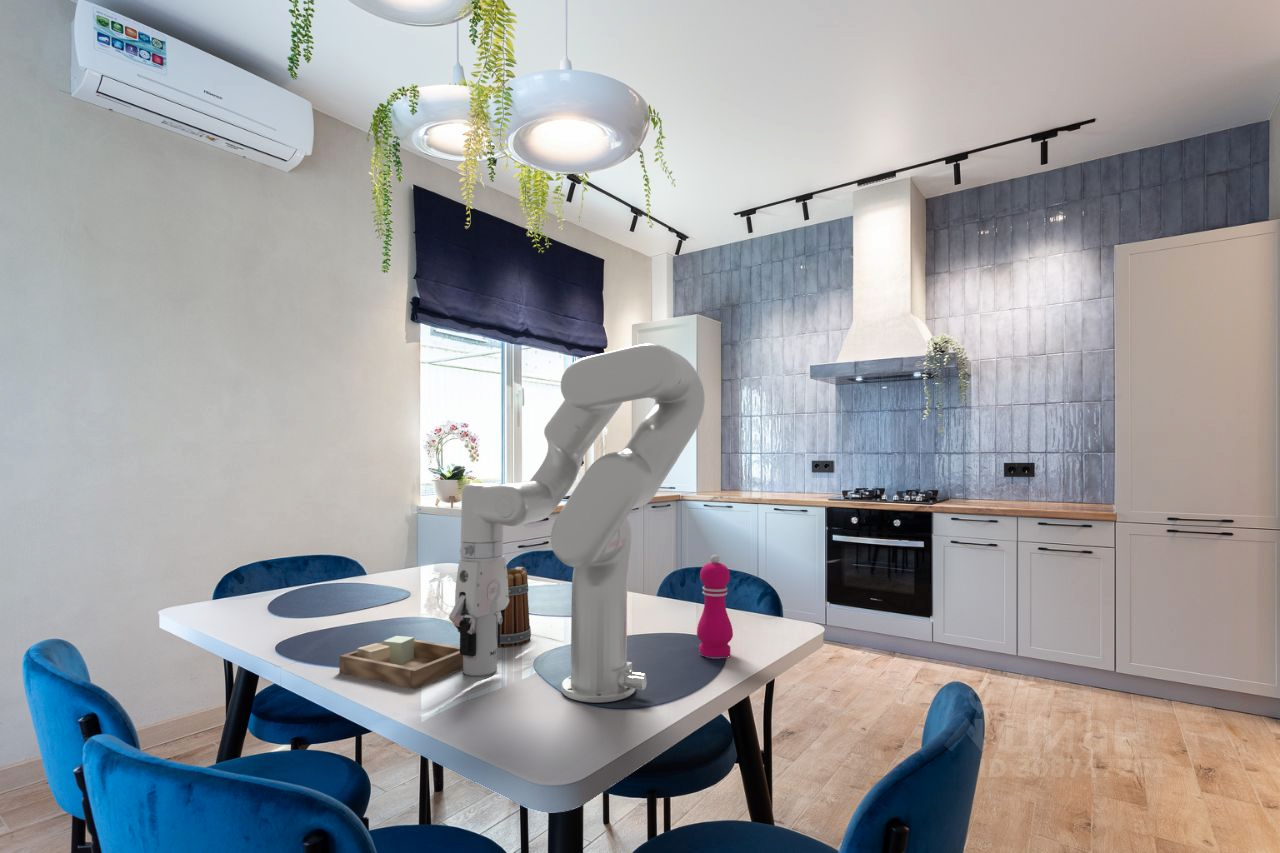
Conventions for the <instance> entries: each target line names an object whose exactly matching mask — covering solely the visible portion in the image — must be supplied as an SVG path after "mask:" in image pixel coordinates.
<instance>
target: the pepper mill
mask: <svg viewBox="0 0 1280 853" xmlns="http://www.w3.org/2000/svg"><path fill="white" fill-rule="evenodd" d="M710 561H711V562H708V563H706V564H705V565H703V566H702V568H701V569H700V574H699V579H700V582H701V583H702V584H703V586H702V592H701V593H702V594H703V596H704V605H703V606H704V607H703V611H702V613H701V615H700V619H699V620H698V624H697V627H696V628H697V629H696V636H697V638H698V640H699V641H700V642H701V643H700V644H699V647H698V651H699V652H700V654H702V655H704V656H708V657H728V656H729V657H731V646H730V645H729V643H730V642H731V640H733V636H734V632H733V629H734V628H733V626H732V623H731V620H730V617H729V615H728V612H727V607H726V596H727V595H728V587H727V585H728V583H729V582H730V578H731V575H730V574H731V573H730V570H729V568H728V567H727V566H726V565H725V564H723V563H722V562H720V556H718V554H713V555H711V556H710ZM699 652H698V653H699ZM700 654H699V655H700ZM729 657H728V658H729Z"/></svg>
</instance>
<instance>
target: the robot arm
mask: <svg viewBox="0 0 1280 853" xmlns="http://www.w3.org/2000/svg"><path fill="white" fill-rule="evenodd" d="M560 391H561V394H562V397H563V399H564V400H563V401H562V403H561V404H560V406H559V407H558V409H557V410H556V411H555V413H554V414H553V416H552V417H551V418H550V419H549V421H548V422H547V423H546V425H545V427H544V431H543V432H544V433H543V434H544V437H545V439H546V442H547V452H546V456H545V458H544V460H543V462H542V463H541V464H540V466H539V468H538V469H537V471H536V472H535V473H534V474H533V476H532V477H531V479H529V481H521V482H520V481H519V482H513V483H504V484H499V483H495V482H472V483H467V484H466V485H464V486H463V488H462V490H461V510H460V511H461V515H460V516H461V519H460V523H461V524H460V525H461V526H460V550H459V553H460V560H459V563H458V566H457V567H458V568H457V574H456V582H455V593H454V594H455V596H454V607H453V608H452V610H451V612H449V613H450V614H449V616H448V619H449V620H450V621H451V623H452V624H453V625H454V626H455V628H456V629H457V632H458V633H459V647H460V654H461V655H465V656H471V657H473V656H475V655H476V633H473V632H474V629H475V625H476V621H477V618H481V617H484V616H486V615H488V614H489V611H490V603H491V601H497V611H498V634H497V646H499V645H500V624H501V623H502V620H503V619H502V616H503V614H504V613H505V609H506V607H507V606H508V603H509V598H508V575H507V569H508V568H507V566H508V565H507V561H506V556H505V555H503V553H504V526H508V527H517V526H520V525H521V526H522V525H527V524H529V523H535V522H540V521H543V520H544V519H546V518H547V517H549V516H550V515H551V514H552V513H553V512H554V511H555V510H556V508H557V507H558V506H559V505H560V503H561V502H562V500H564V498H565V496H566V495H567V494H568V492H570V489H572V487H573V485H574V483H575V482H576V480H577V477H578V474H579V472H580V470H581V467H582V464H583V460H584V457H585V455H586V454H587V452H588V450H590V448H591V446H592V445H593V444H594V443H595V441H596V439H597V438H598V437H599V435H600V434H601V433H602V431H604V429H605V427H606V426H607V424H608V423H609V422H610V421H611V420H612V418H613V417H614V415H615V414H616V412H618V410H619V409H620V408H621V405H622V404H623V403H625V402H631V401H637V400H642V399H648V398H649V399H653V400H654V405H653V407H652V409H651V410H650V412H648V414H647V415H646V416H645V417H644V418H643V420H642V421H641V422H640V424H639V425H638V426H637V428H636V430H635V432H634V433H633V435H632V436H631V438H630V439H629V441H628V442H627V444H625V446H624V447H623V448H622V450H621V451H615V452H614V451H613V452H608V453H606V454H604V455H601V456H600V457H599V458H597V459H596V460H595V461H594V462H592V464H591V465H590V466H589V467H588V469H587V470H586V471H585V473H584V474H583V476H582V477H581V479H580V480H579V482H578V483H577V485H576V487H575V488H574V490H573V491H572V493H571V495H570V496H569V498H568V499H567V501H566V502H565V504H564V505H563V507H562V509H561V510H560V512H559V513H558V514H557V517H556V518H555V520H554V523H553V524H552V528H551V531H550V543H551V549H552V552H553V554H554V555H555V556H556V558H557V559H558V561H560V562H561V563H562V564H564V565H566V566H568V567H570V568H571V567H572V568H573V571H572V580H571V614H570V615H571V623H570V624H571V626H570V627H571V628H570V629H571V631H570V632H571V633H570V634H571V636H570V639H571V640H570V642H571V643H570V675H569V676H568V677H566V678H565V679H564V680H563V681H562V682H561V687H560V688H561V693H562V694H563V695H564V696H566V698H569V699H572V700H574V701H578V702H583V703H597V704H598V703H599V704H600V703H610V702H616V701H621V700H623V699H626V698H629V697H630V696H631V695H632V694H634V693H635V691H636V689H638V690H641V691H644V690H646V688H647V685H648V684H647V683H648V682H647V681H648V680H647V675H646V674H647V673H642V672H635V671H634V670H633V662H632V661H627V659H628V658H627V656H628V654H627V653H628V652H627V650H628V649H627V647H628V646H627V645H628V644H627V643H628V641H627V640H628V635H627V634H628V632H627V631H628V621H627V620H628V575H629V574H628V573H629V562H630V557H631V556H630V555H631V547H632V546H631V545H632V528H631V524H630V521H629V518H628V516H629V514H630V513H631V511H632V510H634V509H638V508H641V507H643V506H646V505H647V504H648V503H650V502H651V501H652V500H653V498H654V497H655V496H656V495H657V492H658V491H659V489H660V487H661V486H662V484H663V483H664V481H665V479H667V476H668V475H669V474H670V472H671V470H672V469H673V467H674V466H675V464H676V463H677V461H678V459H679V457H680V456H681V454H682V453H683V451H684V449H685V448H686V447H687V445H688V443H689V442H690V440H691V438H693V435H694V434H695V432H696V430H697V429H698V427H699V425H700V423H701V420H702V416H703V415H704V409H705V391H704V385H703V382H702V380H701V378H700V376H699V374H698V372H697V370H696V369H695V368H694V366H693V365H692V364H691V362H689V360H687V359H686V358H685V357H684V356H682V355H681V354H679V353H678V352H676V351H673V350H671V349H670V348H668V347H666V346H664V345H660V344H657V343H656V344H655V343H643V344H638V345H634V346H627V347H624V348H620V349H617V350H611V351H607V352H603V353H598V354H593V355H589V356H586V357H585V356H584V357H582V358H580V359H578V360H574V362H572V363H571V364H570V365H568V367H567V368H566V369H565V371H564V373H563V374H562V377H561V379H560ZM466 611H468V613H469V615H468V614H466ZM467 618H468V619H470V622H469V625H468V623H467V622H466V621H467Z"/></svg>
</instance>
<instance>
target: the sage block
mask: <svg viewBox="0 0 1280 853" xmlns="http://www.w3.org/2000/svg"><path fill="white" fill-rule="evenodd" d="M414 639H415V637H413V636H406V635H405V636H403V635H395V636H392V637H389V638H386V639H384V640H383V641H382V642H383V645H386V646H389V647H390V663H391V664H400V665H401V664H403V663H405V662H407V661H409V660H411V659H413V658H414Z"/></svg>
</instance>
